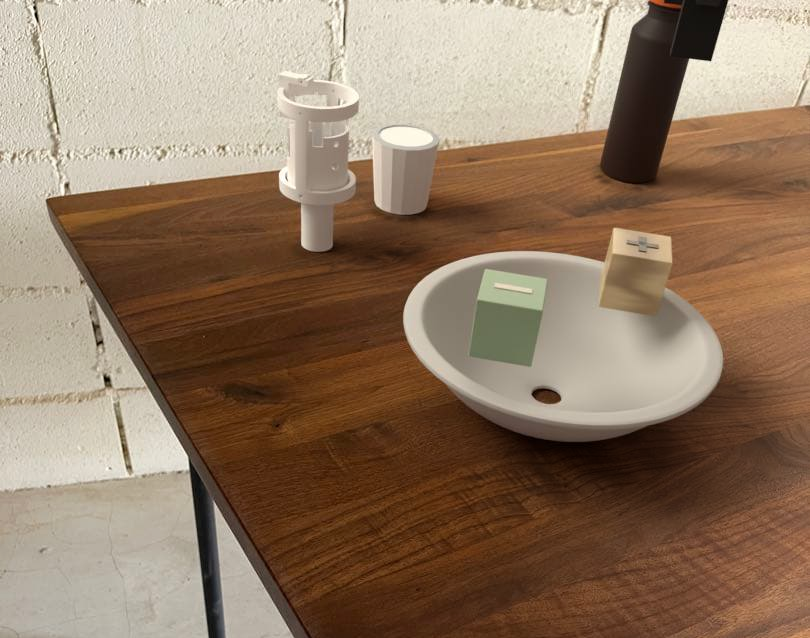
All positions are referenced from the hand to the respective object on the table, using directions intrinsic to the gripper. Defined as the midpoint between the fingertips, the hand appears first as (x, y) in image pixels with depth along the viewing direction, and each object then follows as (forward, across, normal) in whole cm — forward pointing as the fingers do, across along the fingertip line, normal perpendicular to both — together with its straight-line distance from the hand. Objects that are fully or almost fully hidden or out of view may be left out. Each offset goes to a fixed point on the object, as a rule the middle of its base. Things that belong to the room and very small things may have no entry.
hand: (685, 29), depth 64 cm
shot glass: (+24, -17, -23) cm, 37 cm away
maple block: (+17, +8, 0) cm, 19 cm away
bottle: (+24, -34, +2) cm, 42 cm away
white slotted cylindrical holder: (+24, -5, -29) cm, 38 cm away
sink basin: (+24, +14, -5) cm, 28 cm away
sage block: (+17, +18, -9) cm, 27 cm away
